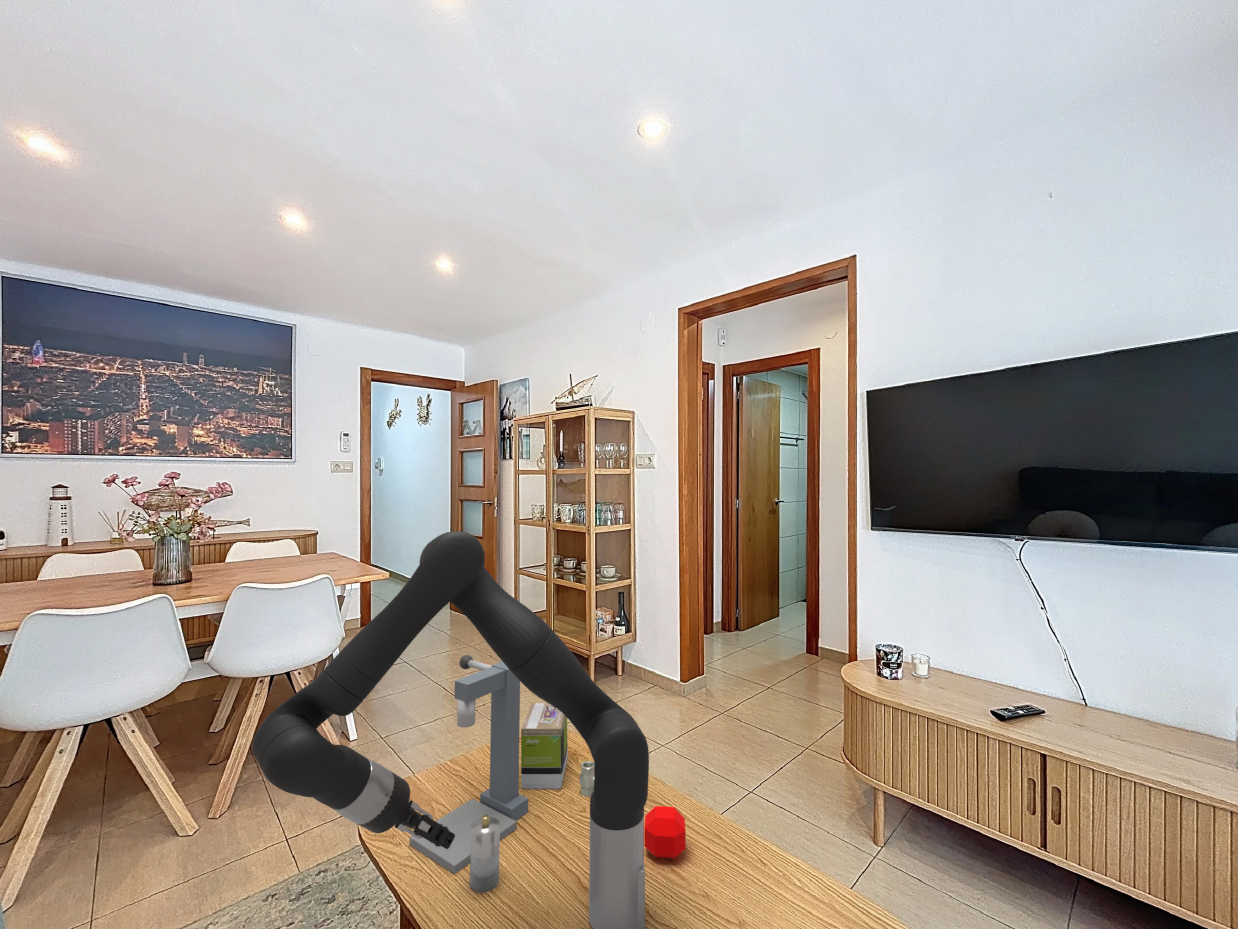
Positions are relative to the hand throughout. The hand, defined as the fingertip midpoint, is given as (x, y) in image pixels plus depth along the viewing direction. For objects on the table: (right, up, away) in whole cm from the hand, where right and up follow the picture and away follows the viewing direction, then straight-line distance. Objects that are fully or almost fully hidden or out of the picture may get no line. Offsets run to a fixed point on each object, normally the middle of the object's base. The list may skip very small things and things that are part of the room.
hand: (434, 831), depth 89 cm
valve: (+27, -17, +35) cm, 47 cm away
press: (-3, -16, +26) cm, 30 cm away
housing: (+6, -15, +9) cm, 19 cm away
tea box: (+12, -17, +45) cm, 50 cm away
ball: (+40, -16, +17) cm, 46 cm away
